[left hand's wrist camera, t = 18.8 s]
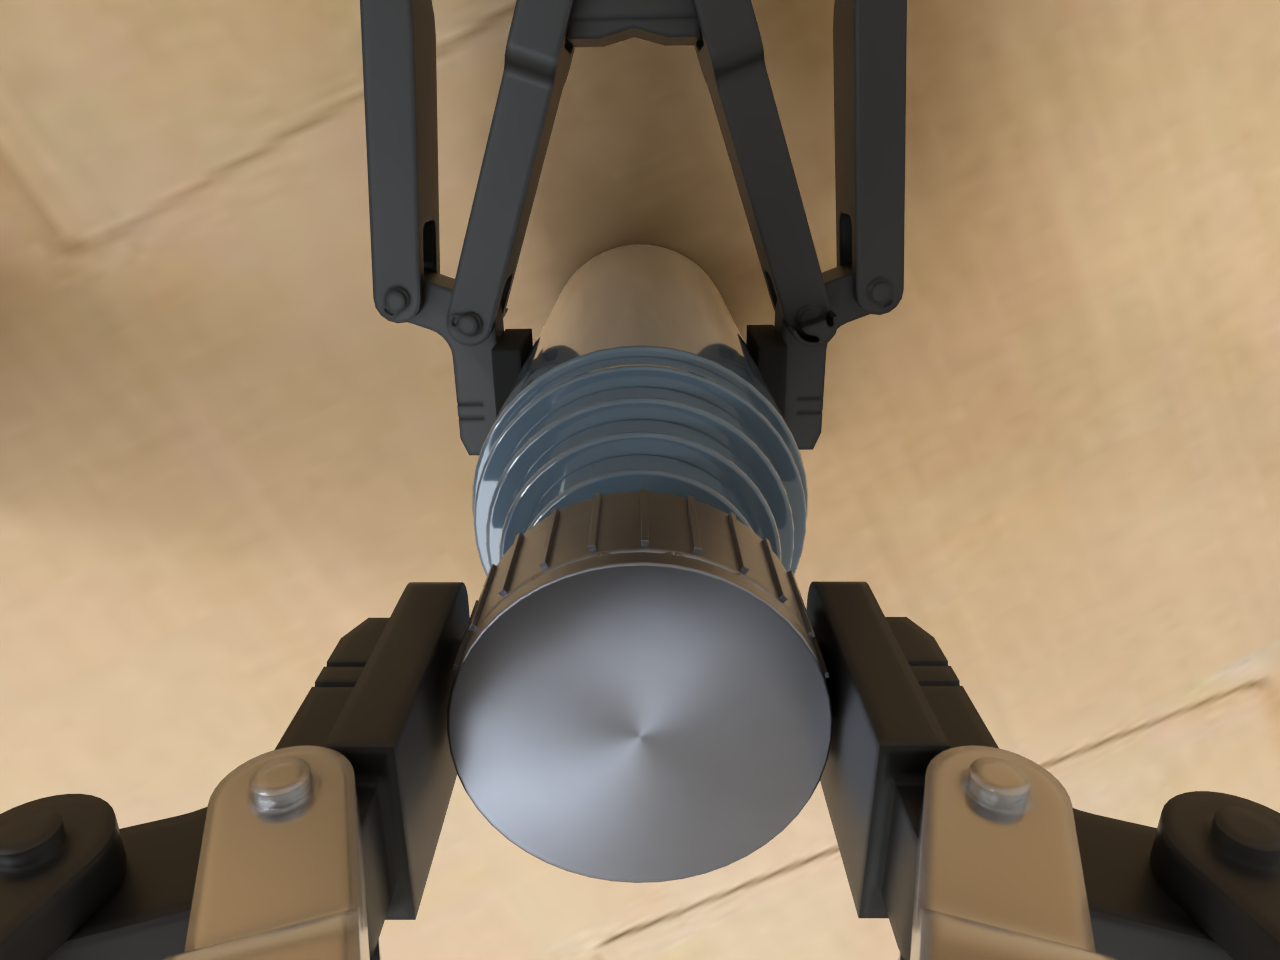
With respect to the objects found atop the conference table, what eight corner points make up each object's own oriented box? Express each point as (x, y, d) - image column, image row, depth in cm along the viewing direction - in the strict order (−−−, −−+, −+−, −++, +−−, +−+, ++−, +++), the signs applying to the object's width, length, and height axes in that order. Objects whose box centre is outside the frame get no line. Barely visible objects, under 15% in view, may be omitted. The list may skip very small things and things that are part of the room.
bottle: (530, 268, 30) (301, 539, 10) (708, 224, 30) (858, 412, 9) (577, 436, 32) (471, 942, 12) (744, 397, 32) (928, 859, 11)
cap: (504, 785, 13) (479, 900, 11) (446, 503, 11) (405, 581, 9) (811, 758, 13) (842, 871, 11) (798, 468, 11) (832, 539, 9)
